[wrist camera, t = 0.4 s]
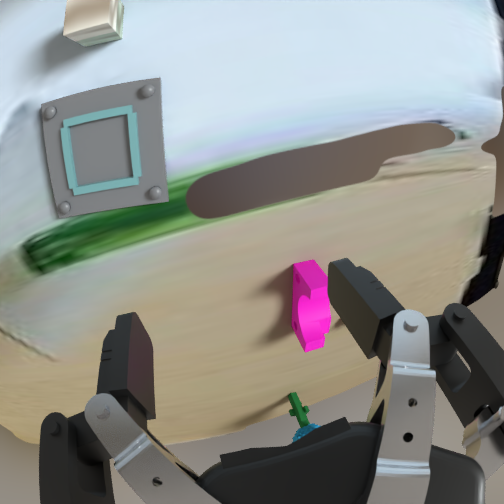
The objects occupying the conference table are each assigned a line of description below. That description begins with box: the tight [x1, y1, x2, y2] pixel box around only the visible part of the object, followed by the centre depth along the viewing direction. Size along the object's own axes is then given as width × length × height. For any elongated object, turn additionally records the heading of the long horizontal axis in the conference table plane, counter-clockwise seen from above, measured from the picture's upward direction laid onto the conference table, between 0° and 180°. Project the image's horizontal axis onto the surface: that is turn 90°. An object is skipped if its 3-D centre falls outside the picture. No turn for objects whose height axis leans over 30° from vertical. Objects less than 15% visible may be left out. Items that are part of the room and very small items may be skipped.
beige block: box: [63, 0, 124, 47], centre depth 18 cm, size 5×5×8 cm
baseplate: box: [41, 78, 169, 219], centre depth 29 cm, size 16×16×2 cm
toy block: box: [292, 260, 331, 352], centre depth 48 cm, size 15×6×8 cm, turn 4°
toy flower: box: [288, 392, 320, 443], centre depth 62 cm, size 9×9×18 cm
